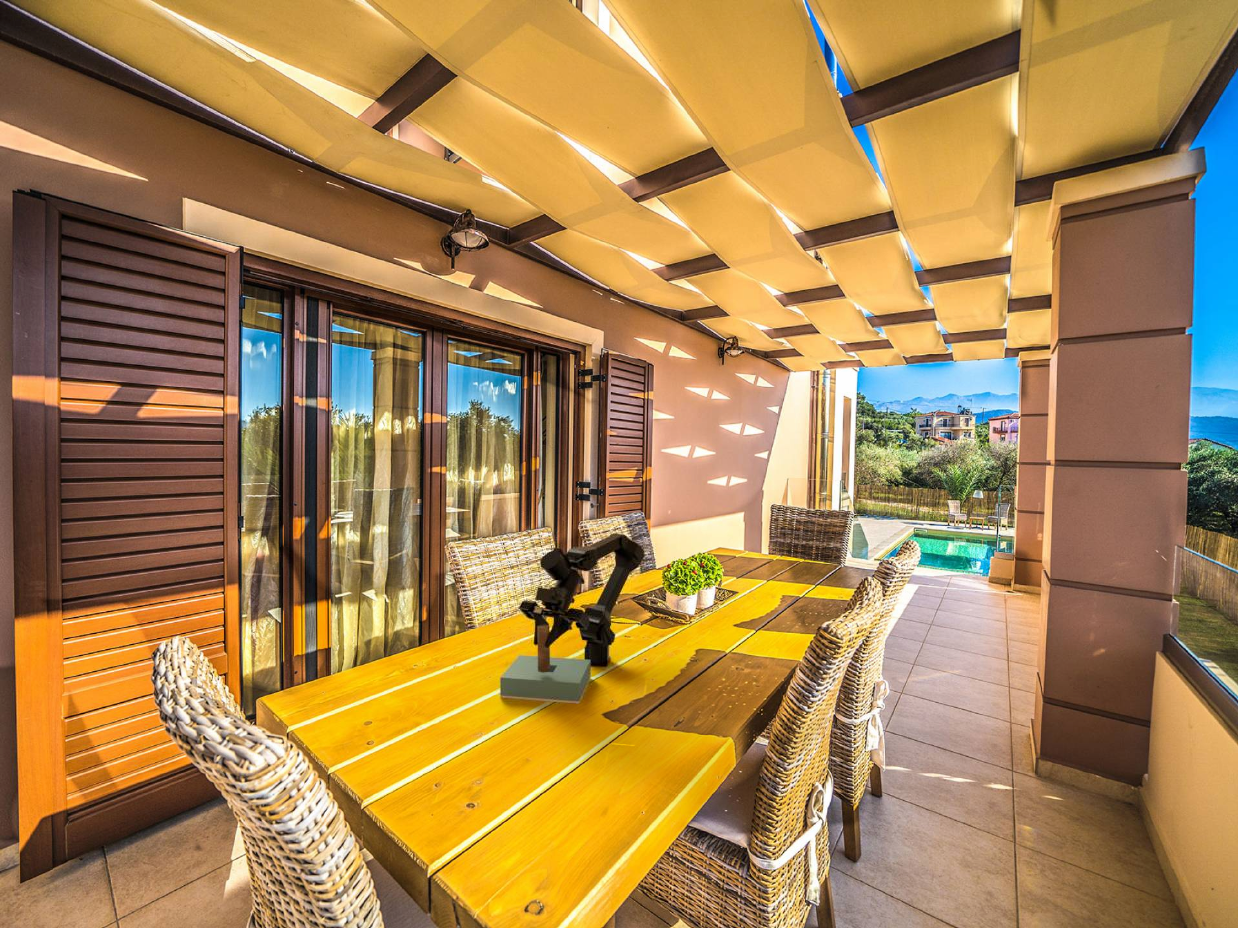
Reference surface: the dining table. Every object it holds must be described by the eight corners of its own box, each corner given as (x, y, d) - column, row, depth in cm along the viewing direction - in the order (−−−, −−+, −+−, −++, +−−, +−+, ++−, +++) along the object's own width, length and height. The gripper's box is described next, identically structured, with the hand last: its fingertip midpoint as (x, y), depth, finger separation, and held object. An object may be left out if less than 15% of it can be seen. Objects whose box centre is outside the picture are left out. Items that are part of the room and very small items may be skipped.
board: (590, 678, 136) (590, 659, 136) (579, 703, 122) (579, 683, 122) (519, 672, 139) (519, 654, 139) (500, 697, 125) (500, 677, 125)
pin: (551, 667, 128) (550, 624, 127) (548, 672, 125) (547, 628, 124) (539, 666, 128) (539, 624, 127) (536, 672, 125) (535, 628, 125)
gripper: (522, 569, 133) (495, 624, 124) (583, 578, 125) (558, 637, 115) (540, 591, 140) (515, 644, 131) (599, 600, 132) (577, 658, 123)
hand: (540, 645), depth 125 cm, fingers closed on pin, 3 cm apart
